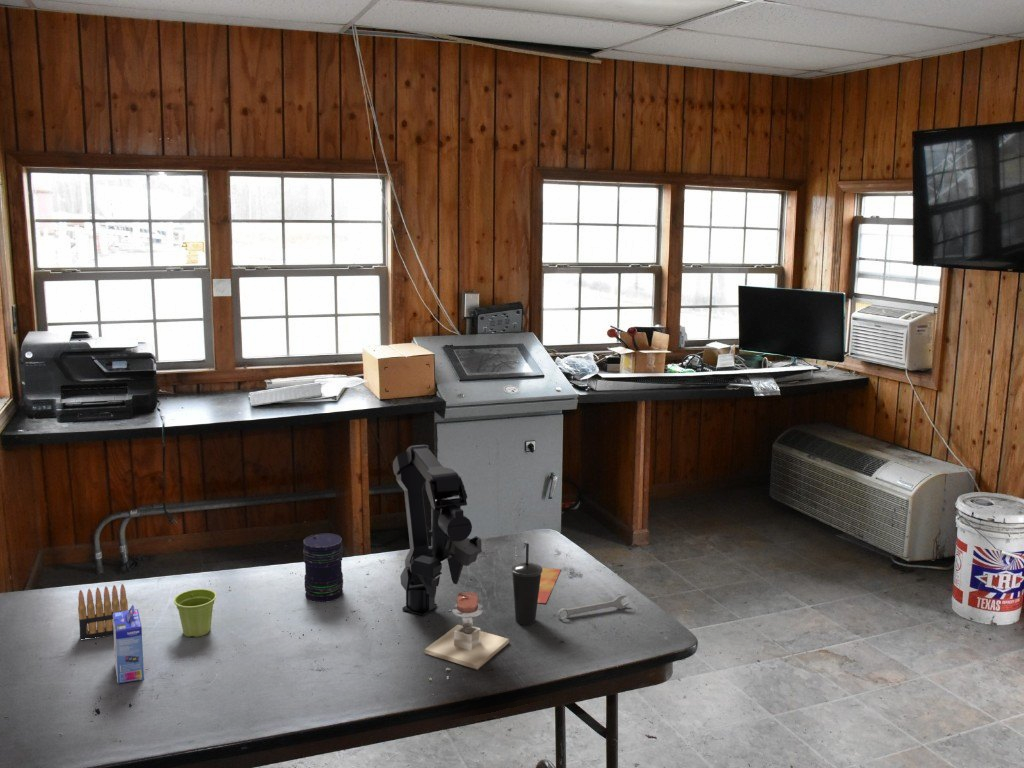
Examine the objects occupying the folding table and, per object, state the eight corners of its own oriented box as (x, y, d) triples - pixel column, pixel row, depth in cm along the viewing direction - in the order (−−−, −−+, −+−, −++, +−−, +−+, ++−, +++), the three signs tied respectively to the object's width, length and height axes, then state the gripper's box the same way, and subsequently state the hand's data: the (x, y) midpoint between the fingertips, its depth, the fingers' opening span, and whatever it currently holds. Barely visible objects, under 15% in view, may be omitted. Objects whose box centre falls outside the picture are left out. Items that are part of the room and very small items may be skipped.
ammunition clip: (130, 628, 209) (126, 581, 206) (130, 632, 207) (126, 584, 205) (80, 637, 204) (76, 589, 202) (80, 640, 203) (75, 592, 200)
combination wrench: (559, 609, 216) (630, 595, 223) (556, 606, 217) (628, 593, 224) (559, 623, 216) (630, 608, 224) (556, 620, 218) (628, 606, 225)
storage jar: (351, 592, 230) (350, 538, 227) (324, 606, 222) (323, 550, 219) (323, 583, 235) (322, 530, 232) (296, 596, 227) (294, 541, 224)
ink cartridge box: (146, 679, 187) (141, 616, 184) (117, 685, 184) (112, 621, 181) (141, 658, 195) (137, 597, 192) (114, 663, 193) (109, 602, 190)
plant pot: (225, 631, 208) (223, 597, 206) (187, 645, 201) (185, 610, 200) (206, 618, 214) (204, 585, 213) (168, 631, 208) (166, 597, 206)
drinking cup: (538, 629, 212) (540, 551, 207) (507, 625, 213) (508, 548, 209) (543, 615, 219) (545, 539, 215) (513, 611, 220) (515, 536, 216)
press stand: (424, 653, 199) (424, 634, 198) (458, 628, 211) (458, 610, 210) (477, 669, 193) (477, 650, 192) (508, 642, 205) (509, 625, 204)
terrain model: (560, 571, 247) (561, 569, 246) (545, 605, 225) (545, 603, 225) (475, 561, 252) (475, 559, 252) (452, 594, 231) (452, 592, 230)
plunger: (446, 627, 200) (446, 598, 198) (462, 615, 206) (462, 587, 204) (472, 635, 196) (472, 605, 195) (488, 622, 202) (488, 593, 201)
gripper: (450, 546, 188) (450, 614, 190) (495, 520, 203) (495, 584, 206) (408, 536, 193) (409, 602, 196) (455, 512, 209) (455, 574, 212)
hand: (444, 590), depth 202 cm, fingers open, 9 cm apart
